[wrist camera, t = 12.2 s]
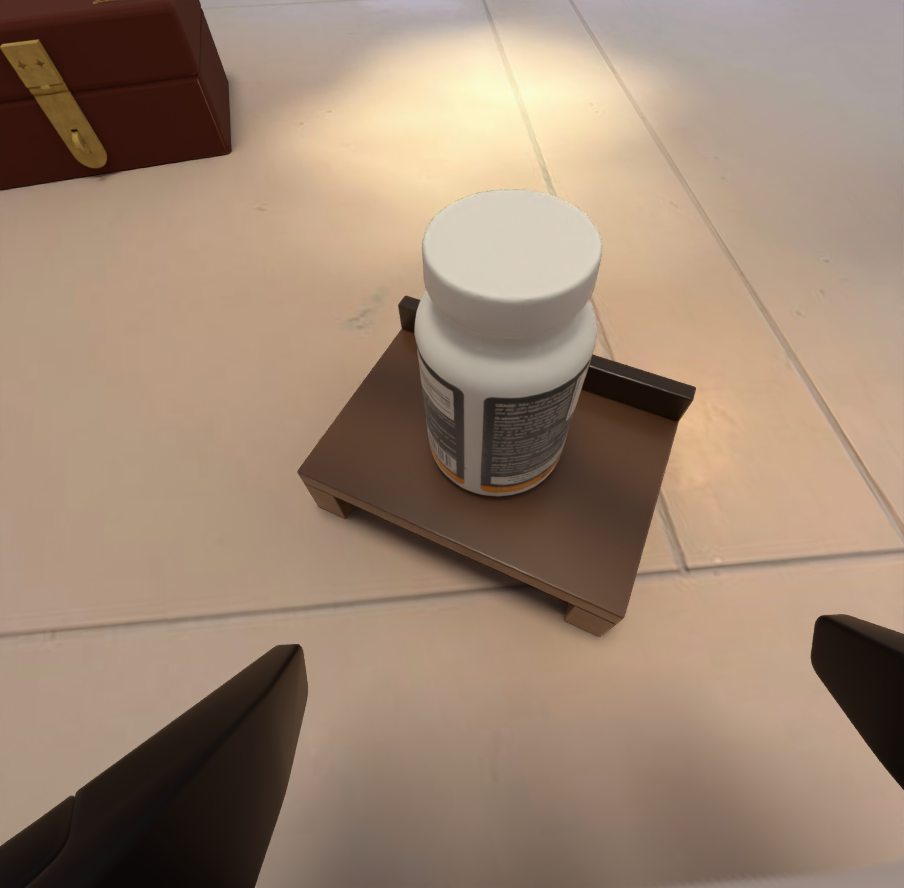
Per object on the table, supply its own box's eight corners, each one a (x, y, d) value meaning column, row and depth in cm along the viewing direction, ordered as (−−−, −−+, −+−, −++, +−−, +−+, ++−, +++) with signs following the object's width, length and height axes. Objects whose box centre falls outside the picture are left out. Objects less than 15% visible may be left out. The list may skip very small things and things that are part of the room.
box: (-37, 204, 38) (-182, 49, 29) (8, 110, 46) (-94, -31, 38) (232, 161, 40) (170, 7, 32) (228, 80, 49) (178, -59, 40)
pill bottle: (566, 401, 22) (630, 186, 13) (552, 515, 19) (622, 331, 10) (445, 382, 23) (433, 167, 14) (413, 488, 20) (374, 296, 11)
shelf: (600, 637, 20) (638, 608, 15) (317, 506, 23) (283, 452, 19) (656, 449, 24) (697, 386, 20) (414, 364, 28) (405, 294, 24)
